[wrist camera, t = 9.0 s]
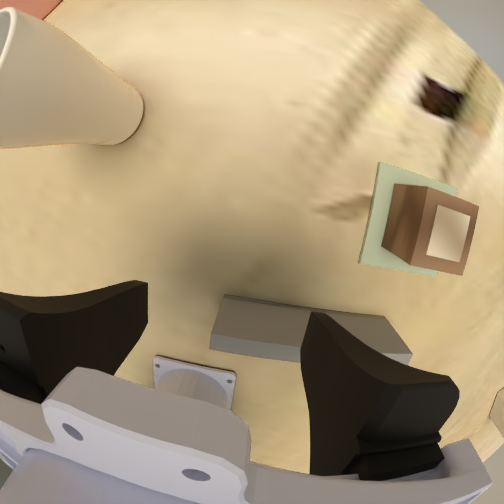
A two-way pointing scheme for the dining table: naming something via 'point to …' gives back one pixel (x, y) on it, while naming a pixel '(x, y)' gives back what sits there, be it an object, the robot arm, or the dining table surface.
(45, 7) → the cake
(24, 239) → the dining table surface
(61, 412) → the robot arm
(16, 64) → the beige paper cup
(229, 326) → the grey block
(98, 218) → the dining table surface
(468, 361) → the dining table surface
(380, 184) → the pad
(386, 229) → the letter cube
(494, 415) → the medicine bottle
